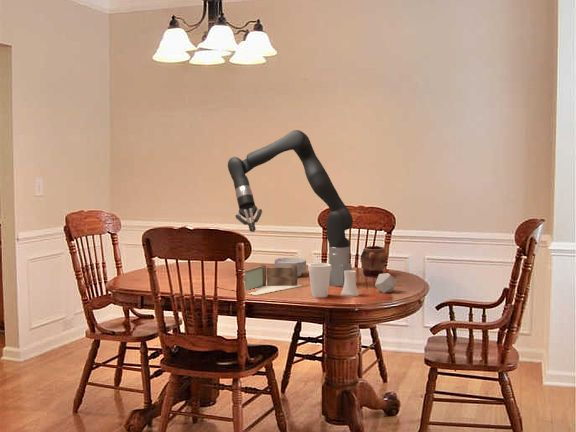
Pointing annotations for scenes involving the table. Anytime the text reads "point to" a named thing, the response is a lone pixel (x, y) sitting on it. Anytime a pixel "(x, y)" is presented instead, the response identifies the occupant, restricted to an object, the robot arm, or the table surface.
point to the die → (385, 283)
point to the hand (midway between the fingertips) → (253, 231)
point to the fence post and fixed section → (280, 276)
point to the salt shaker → (349, 284)
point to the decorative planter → (373, 261)
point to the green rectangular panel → (253, 278)
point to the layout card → (271, 289)
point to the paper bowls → (290, 261)
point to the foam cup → (319, 278)
